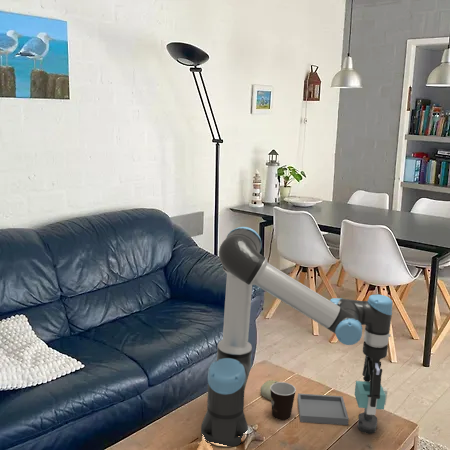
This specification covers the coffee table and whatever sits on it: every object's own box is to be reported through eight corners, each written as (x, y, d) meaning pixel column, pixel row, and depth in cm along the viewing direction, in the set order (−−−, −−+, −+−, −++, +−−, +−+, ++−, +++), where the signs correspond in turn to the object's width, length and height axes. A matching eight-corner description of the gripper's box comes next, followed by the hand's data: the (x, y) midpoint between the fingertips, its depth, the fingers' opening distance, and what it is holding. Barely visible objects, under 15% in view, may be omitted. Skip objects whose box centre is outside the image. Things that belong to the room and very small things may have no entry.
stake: (359, 433, 174) (362, 402, 171) (356, 422, 179) (359, 393, 177) (377, 434, 173) (381, 404, 171) (374, 423, 179) (377, 394, 177)
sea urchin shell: (286, 383, 199) (286, 377, 192) (284, 405, 195) (284, 400, 188) (261, 381, 200) (261, 375, 193) (259, 402, 196) (259, 397, 189)
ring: (358, 407, 170) (360, 393, 169) (354, 394, 178) (356, 380, 177) (387, 409, 170) (389, 395, 169) (382, 396, 178) (383, 382, 177)
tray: (300, 421, 179) (300, 415, 178) (297, 399, 192) (297, 393, 192) (348, 425, 178) (348, 418, 177) (342, 402, 191) (342, 396, 191)
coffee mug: (292, 423, 177) (294, 396, 175) (267, 420, 179) (268, 393, 177) (295, 405, 188) (297, 379, 186) (271, 401, 190) (272, 376, 188)
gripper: (395, 359, 159) (387, 426, 164) (380, 330, 179) (373, 390, 184) (370, 357, 159) (362, 424, 165) (358, 328, 180) (351, 389, 185)
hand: (368, 406), depth 174 cm, fingers closed on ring, 8 cm apart
